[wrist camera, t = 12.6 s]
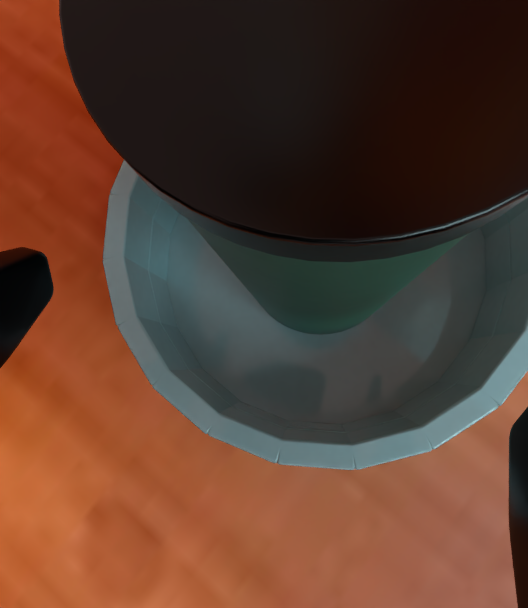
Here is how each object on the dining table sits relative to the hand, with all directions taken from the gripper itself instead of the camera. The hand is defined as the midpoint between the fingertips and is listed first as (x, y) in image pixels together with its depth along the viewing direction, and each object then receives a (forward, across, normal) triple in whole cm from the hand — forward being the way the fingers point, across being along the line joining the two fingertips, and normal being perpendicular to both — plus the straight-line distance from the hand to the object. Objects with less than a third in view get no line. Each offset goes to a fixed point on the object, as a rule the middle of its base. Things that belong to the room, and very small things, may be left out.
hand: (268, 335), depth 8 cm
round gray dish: (+9, 0, +4) cm, 10 cm away
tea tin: (+8, 0, +3) cm, 9 cm away
